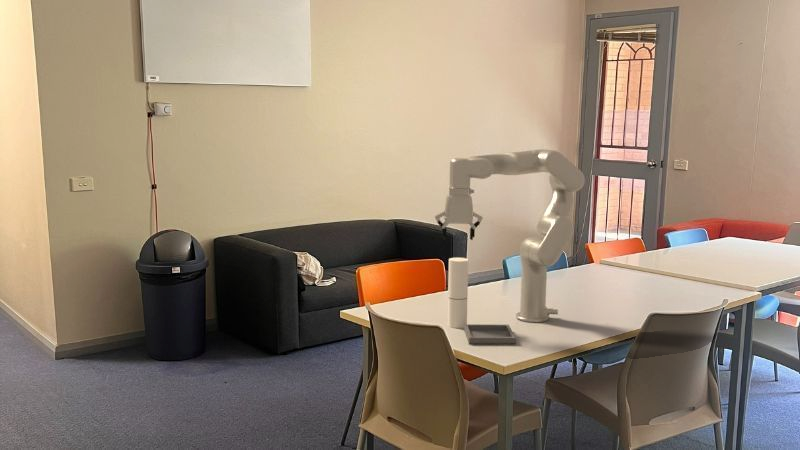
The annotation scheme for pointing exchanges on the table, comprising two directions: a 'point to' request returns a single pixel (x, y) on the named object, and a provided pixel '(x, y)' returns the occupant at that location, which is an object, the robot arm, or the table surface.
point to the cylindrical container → (457, 292)
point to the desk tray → (489, 335)
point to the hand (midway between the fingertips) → (458, 239)
